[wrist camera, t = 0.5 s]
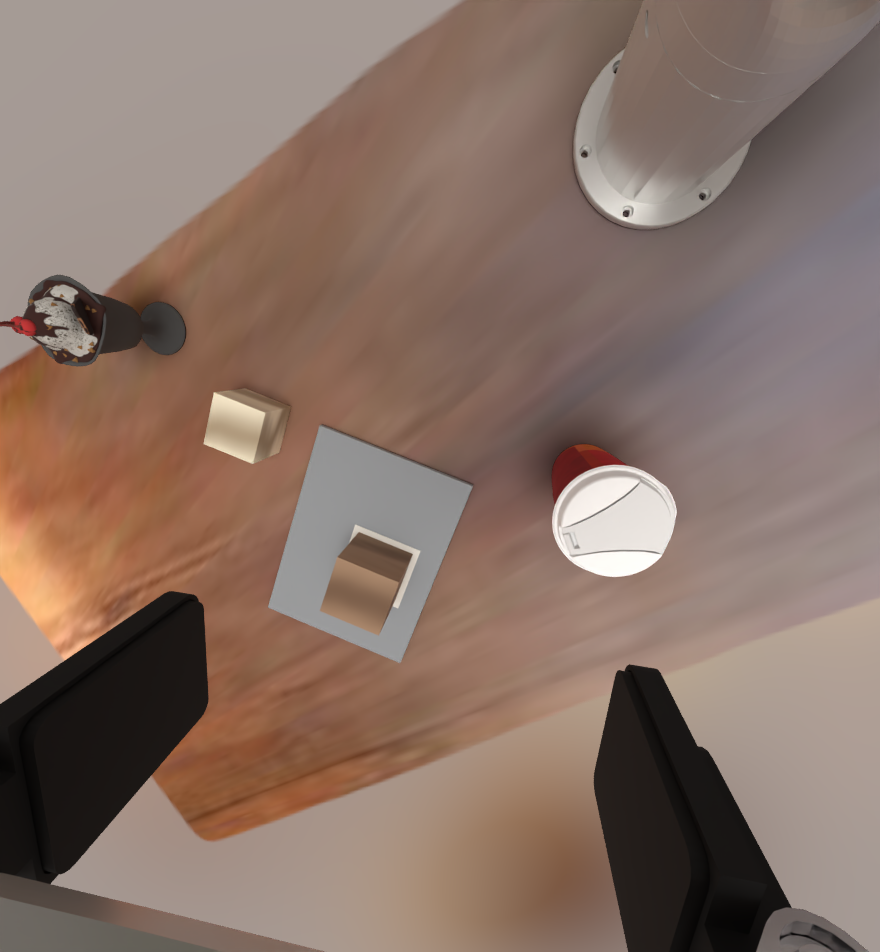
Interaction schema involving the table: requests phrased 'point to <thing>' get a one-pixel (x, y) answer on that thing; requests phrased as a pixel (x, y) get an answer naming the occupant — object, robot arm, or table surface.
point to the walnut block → (365, 582)
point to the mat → (366, 532)
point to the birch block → (246, 424)
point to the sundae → (93, 323)
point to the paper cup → (609, 512)
